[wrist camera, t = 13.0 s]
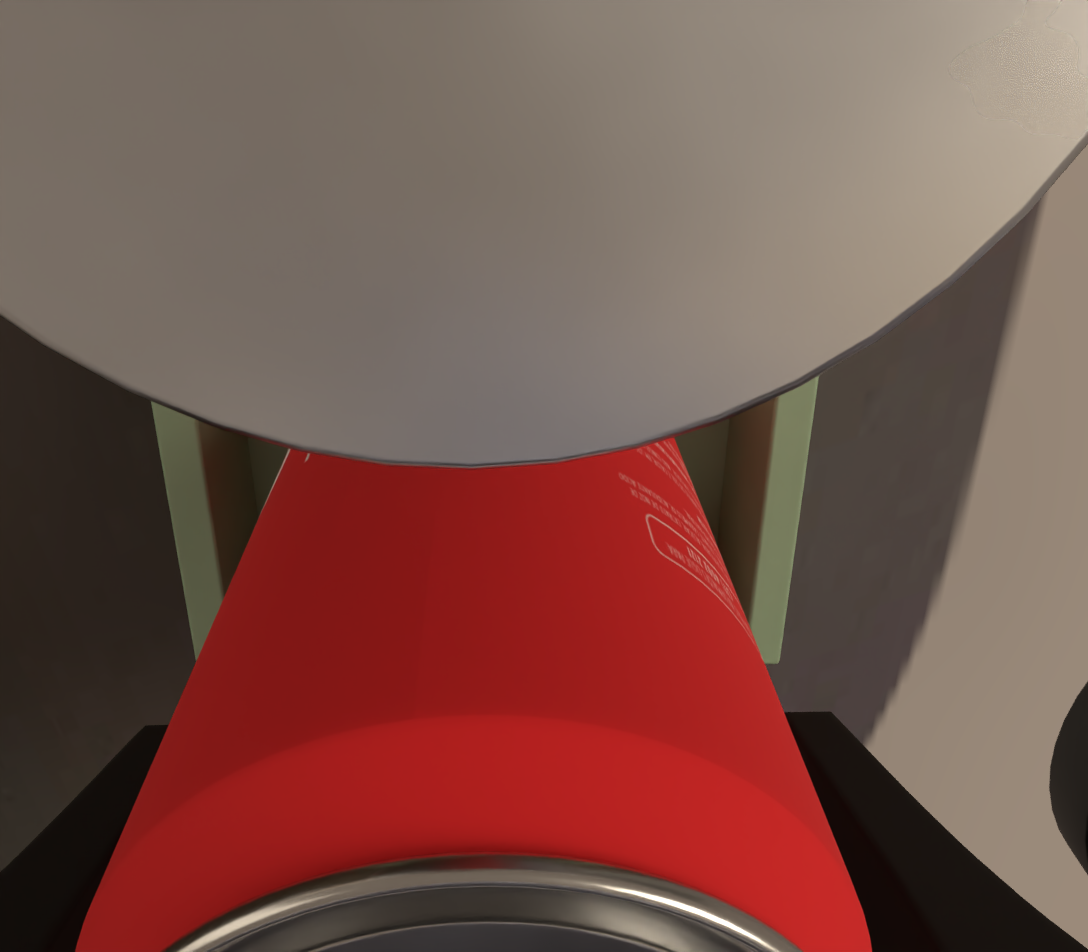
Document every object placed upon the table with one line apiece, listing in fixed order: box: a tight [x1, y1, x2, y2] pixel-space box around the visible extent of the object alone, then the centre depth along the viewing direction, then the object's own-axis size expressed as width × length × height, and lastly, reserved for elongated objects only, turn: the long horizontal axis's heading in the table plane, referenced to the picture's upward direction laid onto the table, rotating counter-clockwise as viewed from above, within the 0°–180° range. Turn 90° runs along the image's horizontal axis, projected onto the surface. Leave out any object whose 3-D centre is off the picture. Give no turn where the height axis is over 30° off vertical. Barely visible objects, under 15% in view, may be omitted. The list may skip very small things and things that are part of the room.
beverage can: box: [75, 437, 872, 952], centre depth 11 cm, size 5×5×12 cm
